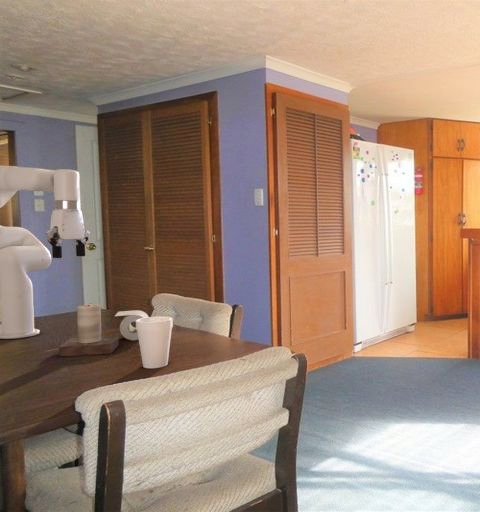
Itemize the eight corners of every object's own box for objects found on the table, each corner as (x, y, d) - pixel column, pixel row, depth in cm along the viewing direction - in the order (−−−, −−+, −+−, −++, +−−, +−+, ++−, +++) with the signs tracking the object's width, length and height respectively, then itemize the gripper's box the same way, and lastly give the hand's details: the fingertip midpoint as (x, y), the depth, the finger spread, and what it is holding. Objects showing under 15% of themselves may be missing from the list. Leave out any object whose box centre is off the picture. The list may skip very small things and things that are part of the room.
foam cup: (144, 361, 152) (143, 316, 152) (177, 360, 153) (176, 316, 152) (131, 370, 143) (130, 322, 142) (166, 369, 144) (165, 322, 143)
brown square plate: (58, 356, 157) (58, 346, 157) (70, 347, 169) (70, 337, 169) (110, 353, 161) (110, 343, 161) (118, 344, 173) (118, 335, 172)
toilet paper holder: (118, 310, 187) (164, 308, 192) (119, 334, 188) (164, 332, 193) (114, 316, 176) (162, 313, 181) (114, 342, 176) (163, 339, 181)
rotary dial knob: (99, 342, 163) (98, 306, 162) (75, 343, 161) (74, 307, 160) (103, 338, 169) (102, 303, 168) (80, 339, 167) (79, 303, 166)
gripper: (78, 207, 187) (80, 255, 188) (36, 205, 170) (37, 258, 171) (96, 207, 185) (98, 255, 186) (55, 205, 168) (56, 259, 169)
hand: (69, 257), depth 179 cm, fingers open, 9 cm apart
